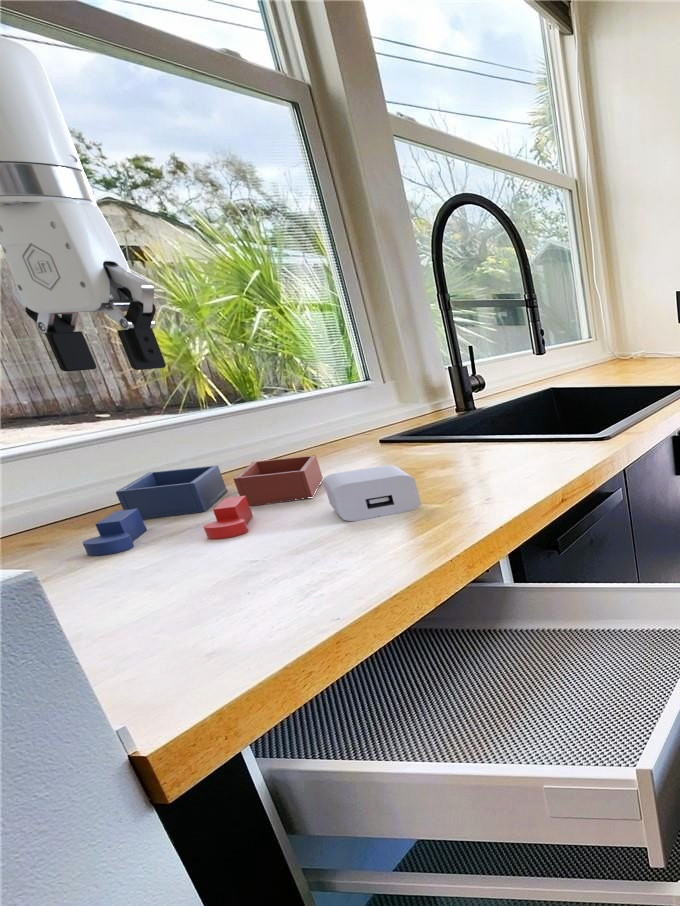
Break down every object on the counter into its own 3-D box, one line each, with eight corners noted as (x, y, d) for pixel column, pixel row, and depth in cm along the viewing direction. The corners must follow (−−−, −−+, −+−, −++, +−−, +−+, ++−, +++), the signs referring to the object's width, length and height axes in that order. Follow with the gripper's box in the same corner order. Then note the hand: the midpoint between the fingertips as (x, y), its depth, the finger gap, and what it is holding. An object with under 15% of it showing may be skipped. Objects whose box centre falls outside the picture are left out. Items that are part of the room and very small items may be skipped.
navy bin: (128, 521, 91) (115, 491, 89) (159, 499, 102) (148, 472, 100) (205, 511, 94) (194, 482, 93) (227, 491, 105) (218, 465, 103)
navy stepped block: (127, 551, 79) (117, 528, 78) (81, 558, 77) (70, 534, 76) (156, 528, 87) (147, 507, 86) (115, 534, 86) (105, 512, 84)
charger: (397, 489, 103) (422, 508, 92) (325, 501, 97) (342, 523, 87) (388, 457, 101) (413, 473, 90) (314, 468, 95) (331, 486, 85)
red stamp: (244, 535, 83) (236, 513, 82) (203, 541, 82) (194, 518, 80) (261, 515, 92) (253, 494, 90) (224, 519, 90) (216, 499, 89)
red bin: (243, 506, 96) (233, 478, 94) (261, 487, 107) (252, 461, 105) (312, 498, 99) (304, 470, 98) (323, 480, 110) (315, 455, 108)
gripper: (-72, 191, 67) (13, 374, 74) (65, 179, 64) (141, 371, 71) (20, 200, 74) (90, 367, 81) (149, 190, 71) (211, 365, 78)
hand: (114, 369), depth 76 cm, fingers open, 9 cm apart
